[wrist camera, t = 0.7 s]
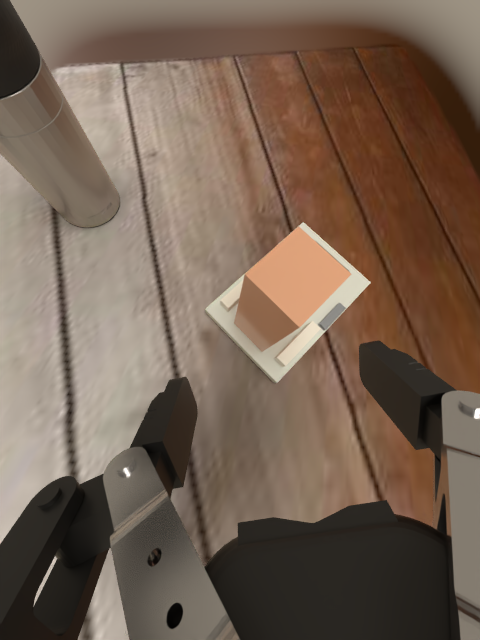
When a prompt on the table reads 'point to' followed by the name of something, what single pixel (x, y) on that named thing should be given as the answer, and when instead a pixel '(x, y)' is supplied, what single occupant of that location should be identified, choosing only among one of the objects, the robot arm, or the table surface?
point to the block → (286, 289)
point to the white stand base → (298, 342)
